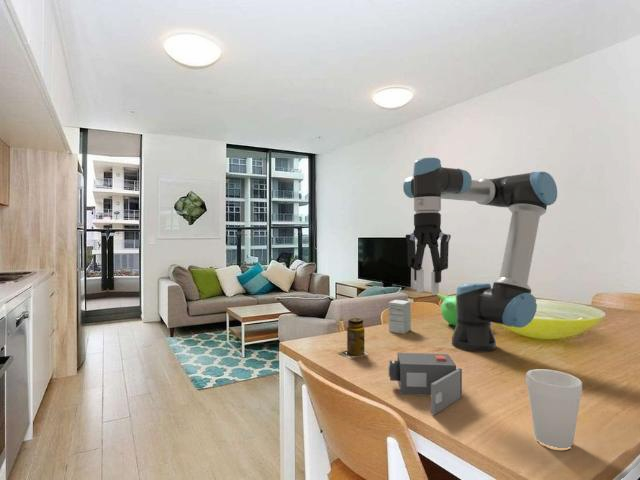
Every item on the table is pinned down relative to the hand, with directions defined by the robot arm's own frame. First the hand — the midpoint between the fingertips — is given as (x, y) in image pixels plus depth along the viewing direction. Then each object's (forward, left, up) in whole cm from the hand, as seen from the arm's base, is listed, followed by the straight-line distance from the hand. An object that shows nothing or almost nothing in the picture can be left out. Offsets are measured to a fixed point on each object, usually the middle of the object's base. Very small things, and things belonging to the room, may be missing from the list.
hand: (427, 292), depth 108 cm
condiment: (+22, -19, -25) cm, 38 cm away
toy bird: (-24, -62, -25) cm, 71 cm away
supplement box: (+3, -51, -25) cm, 57 cm away
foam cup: (-19, +32, -25) cm, 45 cm away
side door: (-2, +18, -24) cm, 30 cm away
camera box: (+3, +8, -25) cm, 26 cm away
